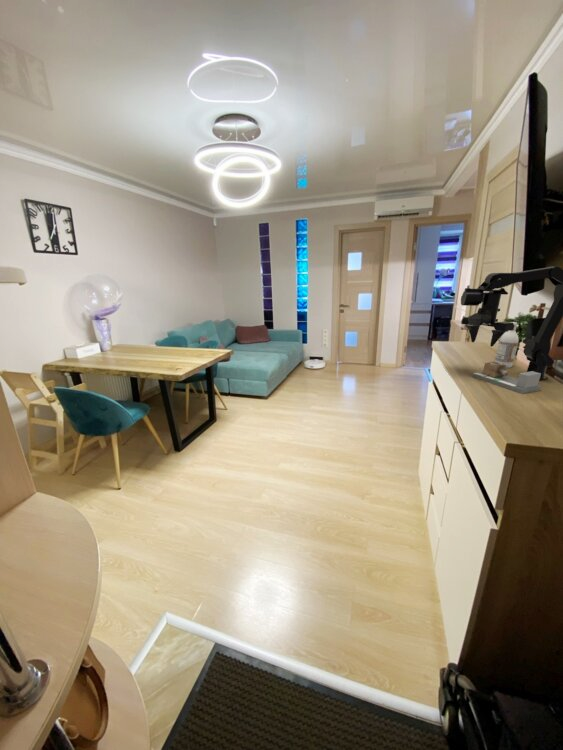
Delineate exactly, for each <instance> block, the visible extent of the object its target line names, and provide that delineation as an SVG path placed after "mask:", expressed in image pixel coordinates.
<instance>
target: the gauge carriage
mask: <svg viewBox="0 0 563 750" xmlns="http://www.w3.org/2000/svg"><path fill="white" fill-rule="evenodd" d="M506 369H507V368H506V365H504V364H501V363H498V362H495V361H490V362H485V363H484V366H483V370H482V372H483V374H485V375H486V376H487V375H488V376H491V377H494V378H495V377H500V376H504V375H506V376H509V375H508V374H509V371H508V370H506Z"/></svg>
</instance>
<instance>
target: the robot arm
mask: <svg viewBox="0 0 563 750" xmlns="http://www.w3.org/2000/svg"><path fill="white" fill-rule="evenodd" d="M544 279H548V281H549V283H551V284H552V285H553V286H555V287H554V291H553V302H552V304H551V305H550V308H549V309H548V312H547V314H546V316H545V318H544V320H543V321H542V323H541V326H540V328H539V329H538V331H537V334H536V335H535V336H534V337H533V338H532V339H530V338H527V340H526V342H525V344H524V345H523V347H522V349H523V353H524V354H523V355H525V356H526V360H527V361H529V363H528V365H527V366H528V367H527V368H526V369H527V370H526V372H530V371H534V372H537V373H541V376H540V379H539V381H542V380H543V381H544V380H548V379H549V377H548V376H545V374H546V371H547V367H552V366H553V364H554V363H555V360H554V359H553V358H552V357H551V356H550V355H549V354H550V352H551V348H552V347H551V346H552V345H551V343H552V342H551V340H552V339H553V337H554V334H555V332H556V330H557V329H558V327H559V325H560V324H561V323H560V322H562V319H563V268H561V267H560V266H556V265H555V266H546V267H543V268H535V269H530V270H522V271H516V272H491V273H488V275H487V276H485V279H484V281H483V282H482V283H481V284H480V285H479V286H478V287H477V288H471V287H465V288H464V291H463V292H462V295H461V298H460V305H461V306H465V307H466V306H475V307H478V306H479V305H480V304H481V306H480V307H479V308H478V309H477V312H475V313H473V314H471V315H469V316H464V317H463V318H462V319H461V322H460V324H461V325H464V327H466V328H467V329H468V331H469V334H470V339H471V342H472V343H475V341H476V339H477V337H478V336H477V335H478V332H479V330H480V327H481V326H486V327H491V328H494V329H491V333H492V335H491V341H490V347H491V348H492V347H494V345H495V344H496V343H497V342H499V341H498V340H500V338H501V336H502V335H503V334H504V333H505V332H508V331H510V330H514V324H513V323H511V322H512V321H498V320H499V319H497V315H498V312H500V311H501V308H499V306H500V301H501V297H502V295H509V293H508V292H507V290H506V288H505V287H508V286H510V285H513V284H517V283H524V282H531V281H536V280H537V281H538V280H544Z"/></svg>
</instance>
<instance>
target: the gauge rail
mask: <svg viewBox="0 0 563 750" xmlns="http://www.w3.org/2000/svg"><path fill="white" fill-rule="evenodd" d="M540 376H541V373H537V372H534V371H530V372H527V371H526V372H525V371H524V372H520V373H518V377H517V378H516V377H512V376H509V375H504V376H500V377H495V378H494V377H491V376H488V375H487V376H486V375H485V374H483V371H479V372H473V373H472V378H475V379H478V380H480V379H481V381H483V380H484V382H486V381H487V383H489V382H490V384H492V385H495V384H496V386H498V385H499V386H498V387H501V388H504V387H505V389H506V390H507V389H508V390H509V391H510V390H511V391H513V392H516V393H518V392H519V393H518V394H521V393H522V395H523V393H524V394H528V392H529V393H533V392H537V391H541V389H542V385H539V382H540V380H539V379H540Z"/></svg>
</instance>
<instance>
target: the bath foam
mask: <svg viewBox="0 0 563 750" xmlns="http://www.w3.org/2000/svg"><path fill="white" fill-rule="evenodd" d="M510 322H511V323H513V324H514V330H510V331H508V332H505V333H504V334H503V335H502V336H501V337H500V338H499V339H498V340H499V341H498V345H497V350H496V352H495V353H496V354H495V359H494V362H498V363H501V364H504V365H506V369H507V368H512V367H513V365H514V361H515V357H516V353H517V350H518V346H519V340H520V339H519V335H518V333H517V332H516V330H517V327H518V322H515V321H510Z"/></svg>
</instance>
